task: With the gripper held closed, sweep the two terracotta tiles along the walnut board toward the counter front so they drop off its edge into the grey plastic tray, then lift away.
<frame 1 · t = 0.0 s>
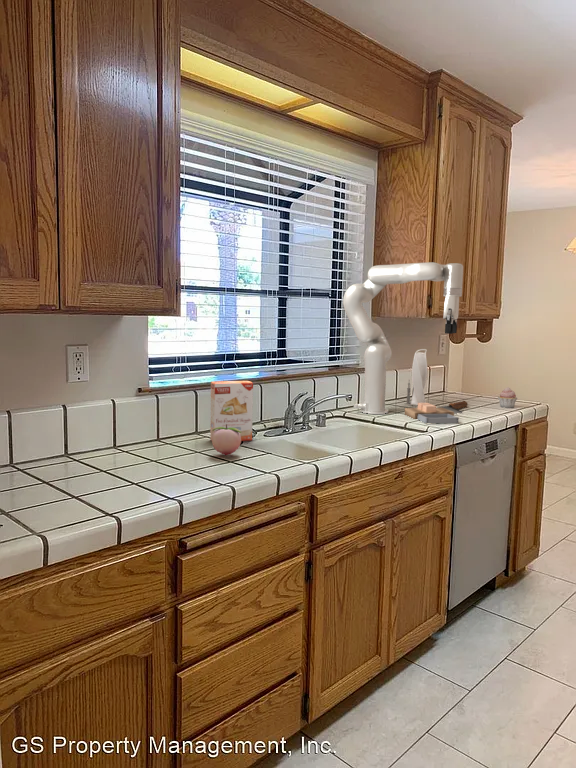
hand: (450, 333, 246), 37 cm above the counter, tool pointing down, fingers open, 9 cm apart
tray: (437, 421, 243), on the counter
tile rear: (424, 409, 257), point 3 cm above the counter, touching board
meat cleaver: (454, 413, 269), on the counter
skyscraper: (417, 405, 288), on the counter
decorative fruit: (226, 456, 180), on the counter
cupcake: (507, 407, 285), on the counter
tile front: (429, 411, 252), point 3 cm above the counter, touching board
cracker box: (231, 440, 202), on the counter
board: (428, 416, 255), on the counter
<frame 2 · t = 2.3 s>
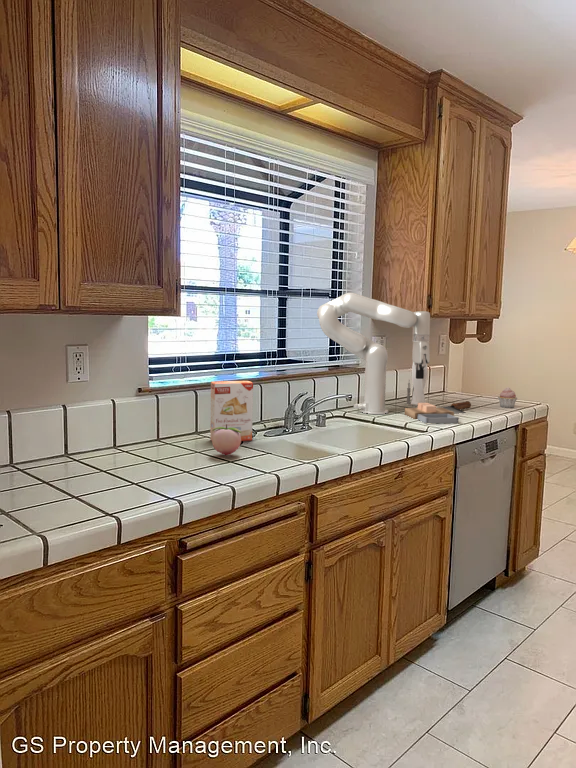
hand: (419, 378, 263), 16 cm above the counter, tool pointing down, fingers closed
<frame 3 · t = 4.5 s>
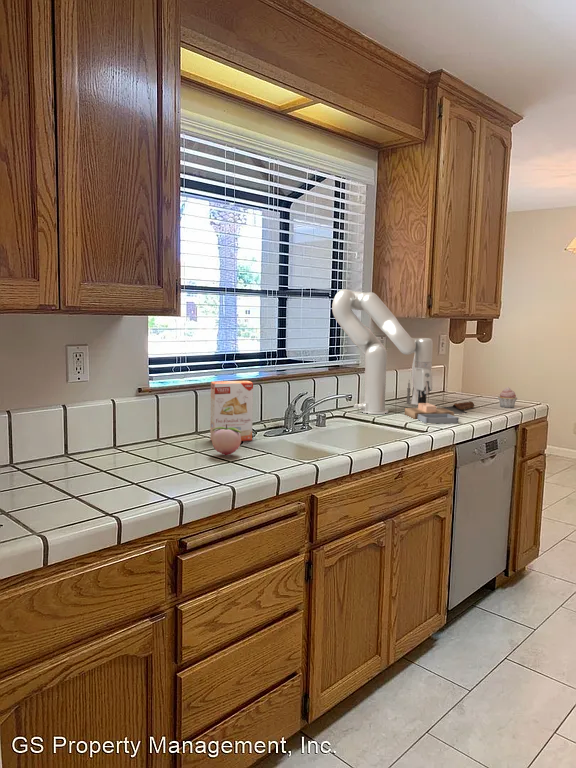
hand: (421, 405, 260), 4 cm above the counter, tool pointing down, fingers closed
tile rear: (424, 409, 257), point 3 cm above the counter, touching board, gripper
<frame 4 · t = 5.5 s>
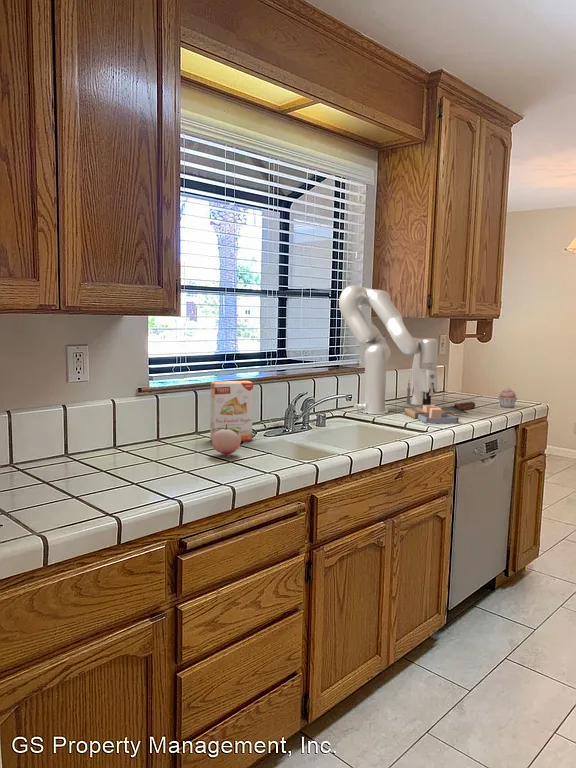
hand: (426, 407, 255), 4 cm above the counter, tool pointing down, fingers closed
tile rear: (429, 411, 251), point 3 cm above the counter, touching gripper
meat cleaver: (458, 413, 268), on the counter, touching board
tile front: (434, 412, 246), point 3 cm above the counter, tilted 98°, touching tray
everything else where it was.
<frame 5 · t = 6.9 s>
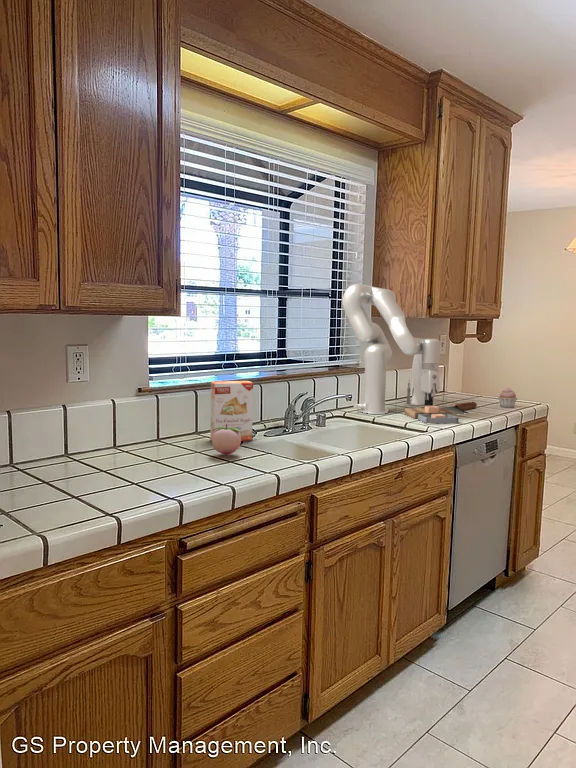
hand: (428, 408, 253), 4 cm above the counter, tool pointing down, fingers closed
tile rear: (431, 412, 249), point 3 cm above the counter, touching gripper
tile front: (438, 414, 242), point 3 cm above the counter, tilted 180°, touching tray
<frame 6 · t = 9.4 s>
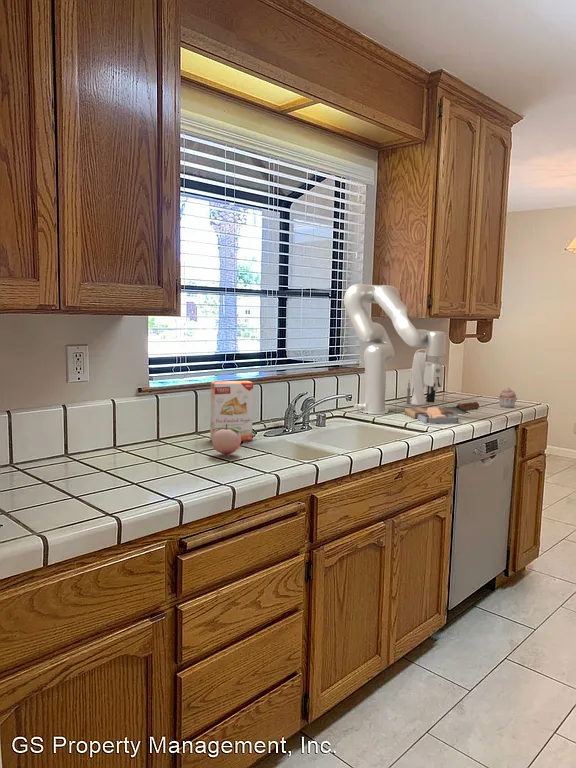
hand: (430, 401, 248), 7 cm above the counter, tool pointing down, fingers closed
tile rear: (433, 415, 246), point 2 cm above the counter, tilted 28°, touching tile front, tray
meat cleaver: (461, 413, 268), on the counter
tile front: (439, 415, 241), point 3 cm above the counter, tilted 180°, touching tile rear, tray
everything else where it was.
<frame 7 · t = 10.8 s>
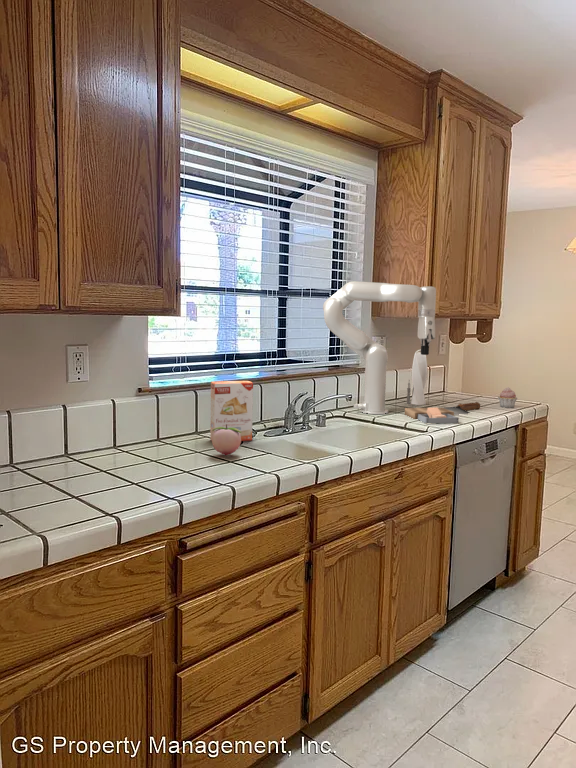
hand: (424, 354, 261), 27 cm above the counter, tool pointing down, fingers closed
meat cleaver: (461, 413, 268), on the counter, touching board
everything else where it was.
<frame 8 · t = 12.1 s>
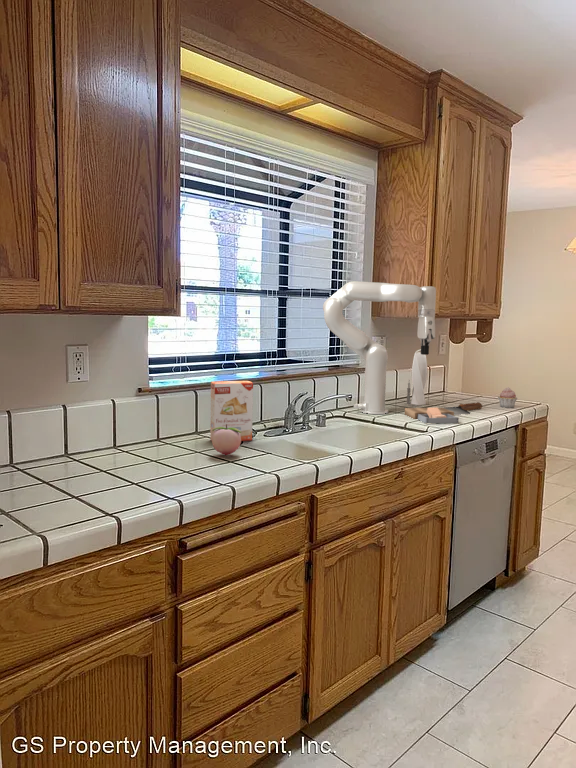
hand: (424, 354, 261), 27 cm above the counter, tool pointing down, fingers closed
at the end: tile front inside the target area on the tray (1.9 cm from its centre), point 3.1 cm above the tray's base; tile rear inside the target area on the tray (3.5 cm from its centre), point 2.1 cm above the tray's base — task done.
